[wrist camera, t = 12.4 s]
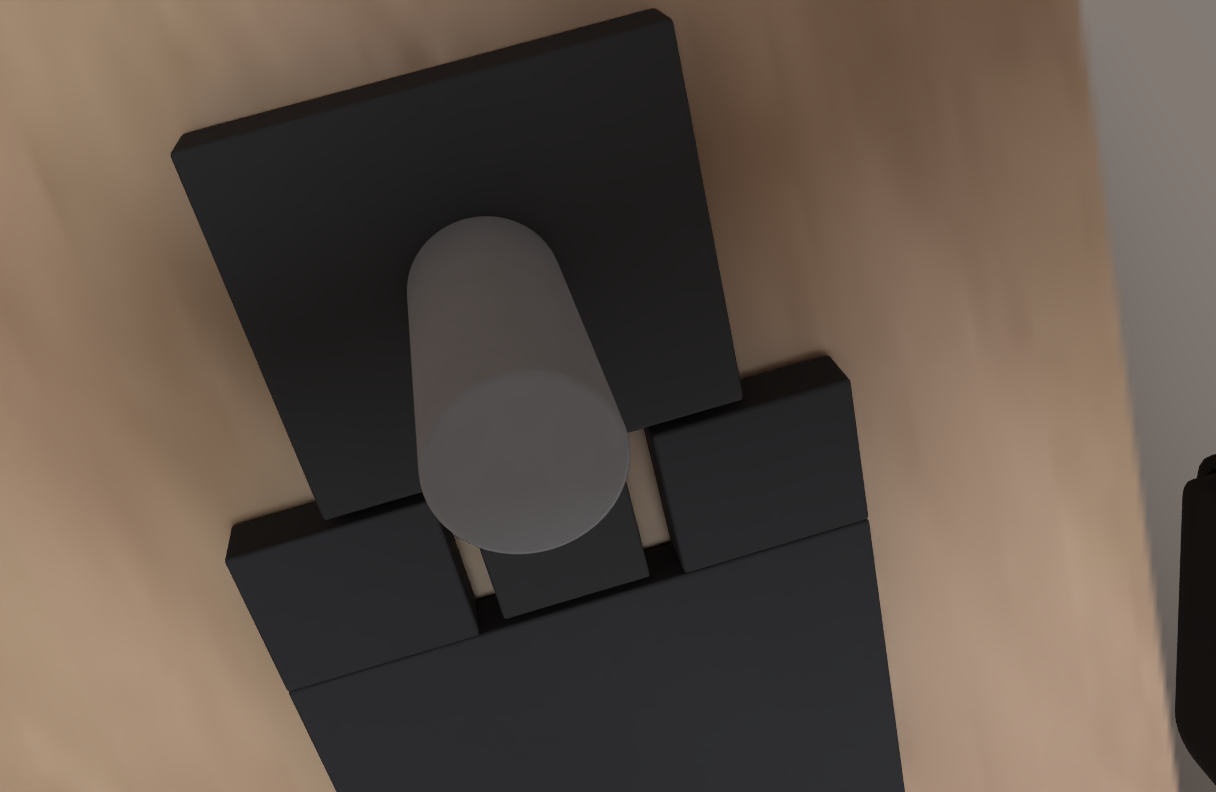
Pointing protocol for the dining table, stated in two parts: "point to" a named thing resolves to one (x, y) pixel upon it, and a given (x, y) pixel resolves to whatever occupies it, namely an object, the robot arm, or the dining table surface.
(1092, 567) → the dining table surface
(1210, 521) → the robot arm
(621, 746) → the big pad
